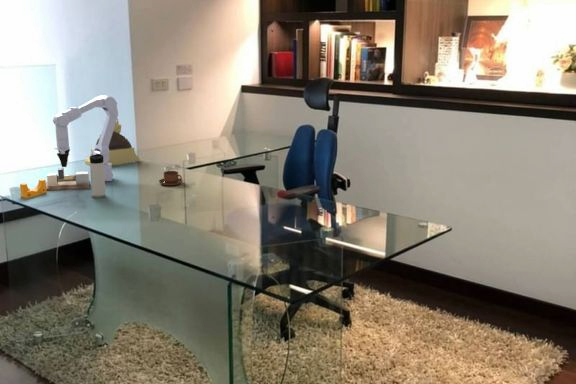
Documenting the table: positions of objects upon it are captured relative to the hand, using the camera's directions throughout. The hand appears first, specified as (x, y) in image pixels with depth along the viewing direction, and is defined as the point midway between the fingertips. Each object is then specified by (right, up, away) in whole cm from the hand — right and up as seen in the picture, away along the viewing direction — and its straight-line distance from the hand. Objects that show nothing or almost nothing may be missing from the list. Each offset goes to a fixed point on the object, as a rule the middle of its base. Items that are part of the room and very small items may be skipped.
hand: (64, 165), depth 324 cm
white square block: (-5, -11, -1) cm, 12 cm away
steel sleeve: (+8, -10, +2) cm, 13 cm away
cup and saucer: (+52, -10, +9) cm, 54 cm away
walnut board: (+1, -11, 0) cm, 11 cm away
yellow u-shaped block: (-9, -15, -16) cm, 24 cm away
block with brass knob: (0, -8, 0) cm, 8 cm away
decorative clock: (+10, +3, +54) cm, 55 cm away
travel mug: (+22, -16, -16) cm, 31 cm away
